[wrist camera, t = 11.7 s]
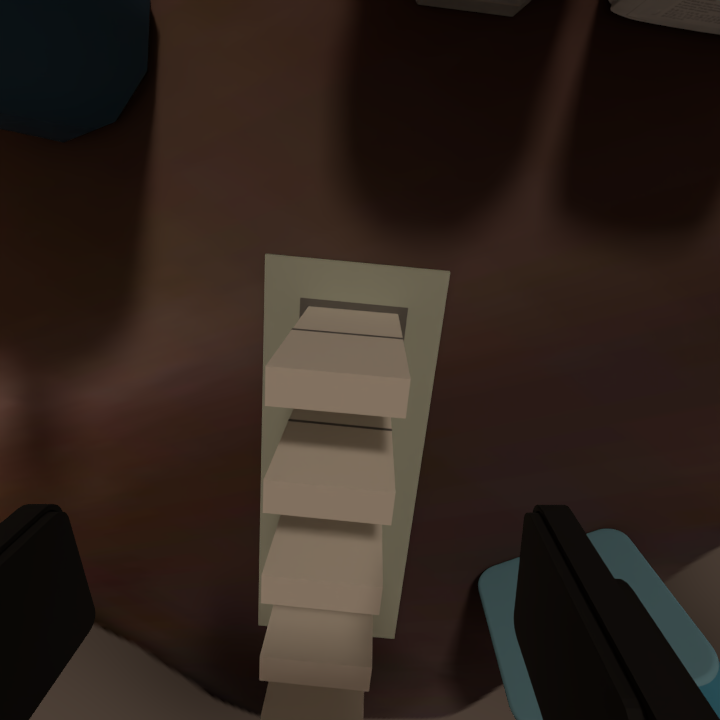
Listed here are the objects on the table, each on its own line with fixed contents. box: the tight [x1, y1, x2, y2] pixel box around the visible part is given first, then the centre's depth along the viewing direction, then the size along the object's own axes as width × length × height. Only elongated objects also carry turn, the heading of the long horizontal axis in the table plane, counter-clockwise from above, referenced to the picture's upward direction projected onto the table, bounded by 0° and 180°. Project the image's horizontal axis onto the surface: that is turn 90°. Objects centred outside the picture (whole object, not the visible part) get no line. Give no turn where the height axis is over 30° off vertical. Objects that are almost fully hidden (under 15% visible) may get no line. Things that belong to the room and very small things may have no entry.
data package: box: [478, 529, 720, 720], centre depth 31 cm, size 12×4×12 cm, turn 116°
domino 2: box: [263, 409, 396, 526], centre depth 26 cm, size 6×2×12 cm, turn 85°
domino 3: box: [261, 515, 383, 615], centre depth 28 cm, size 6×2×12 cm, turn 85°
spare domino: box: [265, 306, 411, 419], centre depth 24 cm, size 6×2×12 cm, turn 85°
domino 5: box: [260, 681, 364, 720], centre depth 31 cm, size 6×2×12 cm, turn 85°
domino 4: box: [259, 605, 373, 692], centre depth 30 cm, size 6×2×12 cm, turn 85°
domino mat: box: [258, 254, 450, 639], centre depth 34 cm, size 12×32×1 cm, turn 175°
